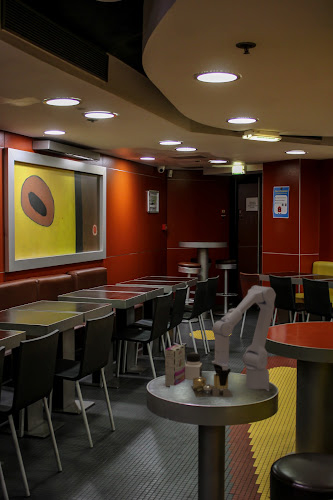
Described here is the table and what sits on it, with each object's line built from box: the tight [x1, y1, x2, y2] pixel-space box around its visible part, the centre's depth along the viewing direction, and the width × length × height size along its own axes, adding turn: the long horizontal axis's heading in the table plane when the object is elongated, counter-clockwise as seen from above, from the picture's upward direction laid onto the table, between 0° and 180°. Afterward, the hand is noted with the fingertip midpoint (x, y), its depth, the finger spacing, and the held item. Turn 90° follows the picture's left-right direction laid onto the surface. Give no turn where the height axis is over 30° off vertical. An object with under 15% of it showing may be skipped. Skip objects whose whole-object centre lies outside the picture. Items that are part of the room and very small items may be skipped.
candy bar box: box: [164, 344, 186, 388], centre depth 257 cm, size 11×5×16 cm, turn 154°
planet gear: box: [213, 372, 229, 389], centre depth 241 cm, size 6×6×5 cm
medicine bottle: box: [185, 352, 203, 381], centre depth 265 cm, size 7×7×12 cm
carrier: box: [190, 376, 234, 398], centre depth 244 cm, size 15×16×6 cm
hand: (221, 383), depth 241 cm, fingers closed on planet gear, 6 cm apart
